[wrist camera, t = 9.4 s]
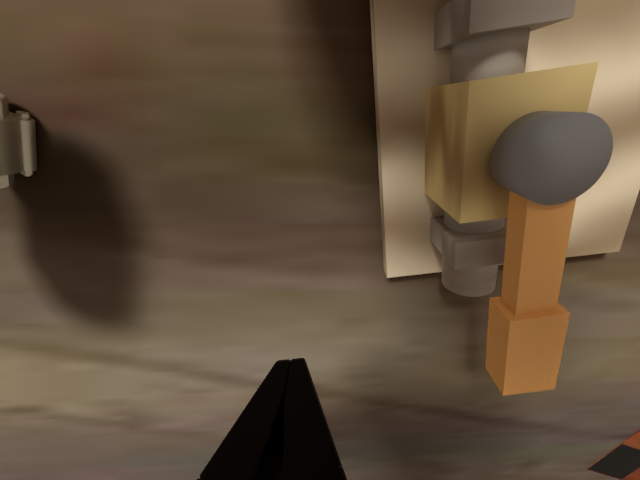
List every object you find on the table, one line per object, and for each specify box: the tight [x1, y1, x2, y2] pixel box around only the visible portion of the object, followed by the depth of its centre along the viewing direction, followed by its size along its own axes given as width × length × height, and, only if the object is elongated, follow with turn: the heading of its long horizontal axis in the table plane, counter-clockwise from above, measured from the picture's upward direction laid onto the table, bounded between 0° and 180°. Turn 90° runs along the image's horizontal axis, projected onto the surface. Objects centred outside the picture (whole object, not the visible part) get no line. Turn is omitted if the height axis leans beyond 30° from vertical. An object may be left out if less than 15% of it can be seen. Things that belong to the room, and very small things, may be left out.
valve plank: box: [370, 0, 640, 297], centre depth 15 cm, size 18×16×7 cm
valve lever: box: [485, 111, 613, 396], centre depth 13 cm, size 3×14×2 cm, turn 11°
